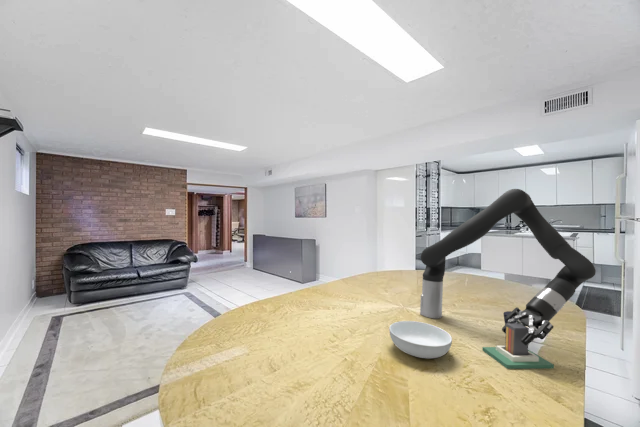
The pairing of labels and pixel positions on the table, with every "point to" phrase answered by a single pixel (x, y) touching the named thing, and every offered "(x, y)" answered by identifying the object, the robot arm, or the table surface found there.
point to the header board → (517, 359)
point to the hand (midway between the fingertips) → (513, 337)
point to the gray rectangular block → (516, 339)
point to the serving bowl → (420, 339)
